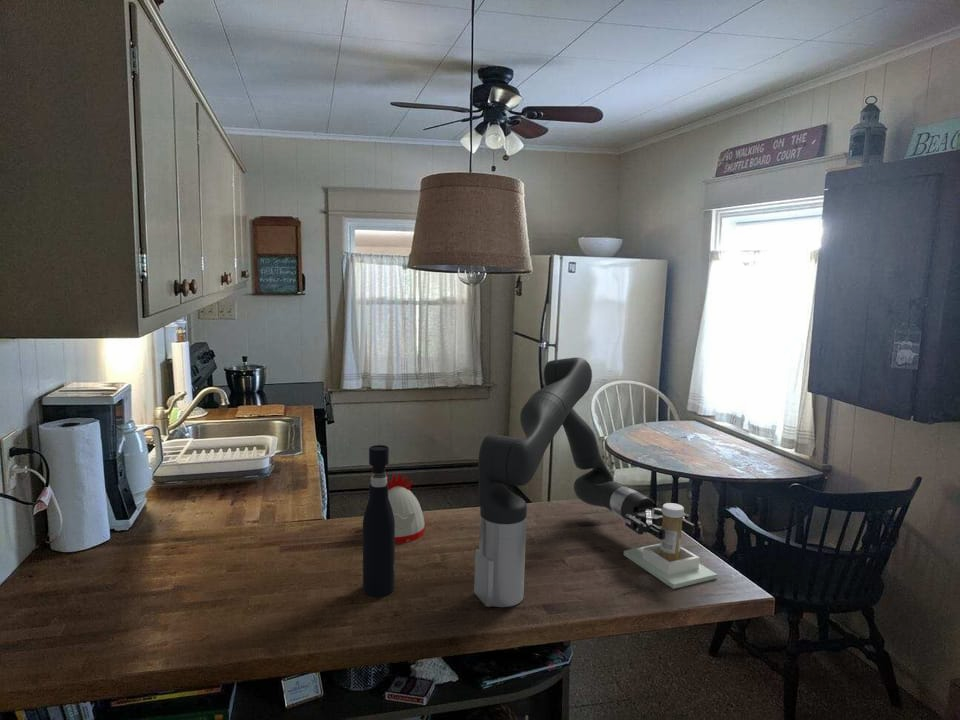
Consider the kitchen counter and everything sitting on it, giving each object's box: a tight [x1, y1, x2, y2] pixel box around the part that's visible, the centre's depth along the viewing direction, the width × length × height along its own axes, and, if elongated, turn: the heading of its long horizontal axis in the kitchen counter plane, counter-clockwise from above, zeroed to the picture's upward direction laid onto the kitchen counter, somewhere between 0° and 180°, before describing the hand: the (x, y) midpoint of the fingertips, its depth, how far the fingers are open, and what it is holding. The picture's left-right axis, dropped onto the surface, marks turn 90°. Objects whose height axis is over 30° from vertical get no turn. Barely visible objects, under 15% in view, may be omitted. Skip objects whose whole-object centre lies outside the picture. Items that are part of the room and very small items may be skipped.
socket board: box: [623, 543, 718, 590], centre depth 147 cm, size 12×17×4 cm
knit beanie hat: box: [385, 472, 425, 544], centre depth 162 cm, size 14×14×15 cm
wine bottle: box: [362, 444, 396, 597], centre depth 132 cm, size 6×6×30 cm
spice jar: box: [659, 502, 685, 562], centre depth 146 cm, size 5×5×13 cm
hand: (678, 532), depth 144 cm, fingers open, 8 cm apart
